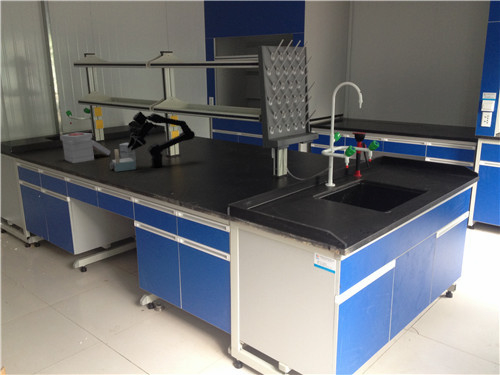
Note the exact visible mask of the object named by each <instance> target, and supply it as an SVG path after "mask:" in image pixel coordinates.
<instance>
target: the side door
mask: <svg viewBox="0 0 500 375" xmlns="http://www.w3.org/2000/svg"><path fill="white" fill-rule="evenodd" d="M119 152H120V149H119V148H118V149H117V148H116V149H115V148H114V158H115V159H114V160H116V163H115V166H116V171H115V172H116V173H117V172H124V171H131V170H137V169H138V168H137V160H136V161H128V162H120V159H121V158H120V153H119Z"/></svg>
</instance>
